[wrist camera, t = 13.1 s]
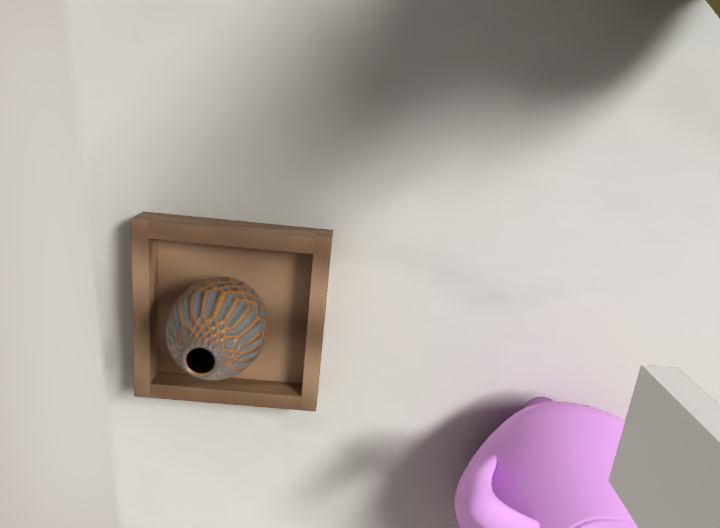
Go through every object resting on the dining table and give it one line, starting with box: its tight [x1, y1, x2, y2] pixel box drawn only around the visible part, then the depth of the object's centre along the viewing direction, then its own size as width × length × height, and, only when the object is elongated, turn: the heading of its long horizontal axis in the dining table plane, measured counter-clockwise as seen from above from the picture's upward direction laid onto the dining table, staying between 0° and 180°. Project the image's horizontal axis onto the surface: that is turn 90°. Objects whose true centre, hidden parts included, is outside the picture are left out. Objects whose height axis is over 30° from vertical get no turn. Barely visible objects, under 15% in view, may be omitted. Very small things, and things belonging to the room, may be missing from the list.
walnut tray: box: [131, 212, 333, 411], centre depth 44 cm, size 14×14×3 cm
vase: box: [166, 277, 268, 380], centre depth 40 cm, size 7×7×9 cm
